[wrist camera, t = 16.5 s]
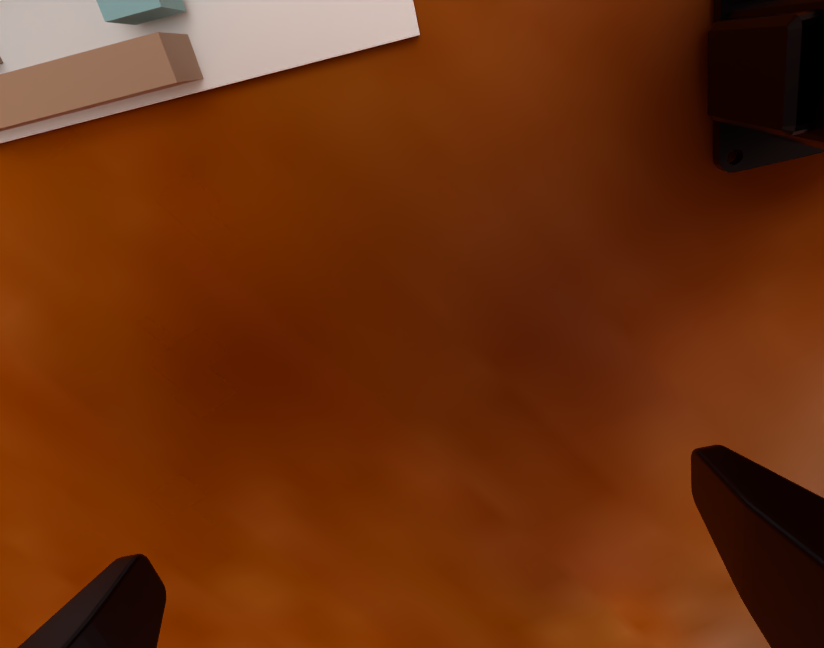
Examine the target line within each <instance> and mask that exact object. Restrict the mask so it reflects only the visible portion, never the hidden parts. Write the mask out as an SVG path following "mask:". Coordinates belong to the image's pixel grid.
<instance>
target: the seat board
mask: <svg viewBox="0 0 824 648" xmlns="http://www.w3.org/2000/svg"><path fill="white" fill-rule="evenodd" d="M183 3H184V6H185V9H186V12H182V13H178V14H175V15H171V16H167V17H164V18H160V19H156V20H153V21H149V22H145V23H141V24H138V25H130V24H121V23H111V22H105V20H104V18H103V16H102V13H101V11H100V8H99V6H98V3H97V1H96V0H0V144H1V143H4V142H8V141H12V140H16V139H20V138H24V137H28V136H31V135H35V134H39V133H43V132H47V131H51V130H55V129H59V128H62V127H66V126H70V125H74V124H78V123H82V122H86V121H90V120H93V119H97V118H101V117H105V116H109V115H113V114H117V113H121V112H124V111H128V110H132V109H136V108H140V107H144V106H148V105H152V104H155V103H159V102H163V101H167V100H171V99H175V98H179V97H183V96H186V95H190V94H194V93H198V92H202V91H206V90H210V89H214V88H217V87H221V86H225V85H229V84H233V83H237V82H241V81H245V80H248V79H252V78H256V77H260V76H264V75H268V74H272V73H276V72H279V71H283V70H287V69H291V68H295V67H299V66H303V65H307V64H310V63H314V62H318V61H322V60H326V59H330V58H334V57H338V56H341V55H345V54H349V53H353V52H357V51H361V50H365V49H369V48H372V47H376V46H380V45H384V44H388V43H392V42H396V41H400V40H403V39H407V38H411V37H415V36H419V35H420V33H419V28H418V23H417V18H416V13H415V8H414V3H413V0H183Z"/></svg>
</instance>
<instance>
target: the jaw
mask: <svg viewBox="0 0 824 648" xmlns="http://www.w3.org/2000/svg"><path fill="white" fill-rule="evenodd" d="M96 1H97V3H98V6H99V8H100V11H101V13H102V16H103V18H104V20H105V22H111V23H121V24H130V25H138V24H141V23H145V22H149V21H153V20H156V19H160V18H164V17H167V16H171V15H175V14H178V13H182V12H186V9H185V6H184V3H183V0H96Z"/></svg>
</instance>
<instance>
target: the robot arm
mask: <svg viewBox="0 0 824 648" xmlns="http://www.w3.org/2000/svg"><path fill="white" fill-rule="evenodd" d="M708 115H709V116H710V117H712V118H713V159H714V164H715V165H716V166H717V168H719V169H721V170H724V171H727V172H737V171H742V170H746V169H751V168H755V167H759V166H764V165H768V164H773V163H777V162H782V161H786V160H790V159H795V158H799V157H804V156H808V155H812V154H817V153H821V152H824V0H714V24H713V26H712V27H711V29H710V30H709V32H708ZM734 149H736V152H737V154H736V157H735V158H734V160H733V161H731V162H729V163H728V161H727V157H728V154H729V153H730V152H731V151H732V150H734ZM691 485H692V495H693V498H694V501H695V504H696V506H697V508H698V510H699V512H700V514H701V517H702V519H703V521H704V523H705V525H706V527H707V529H708V531H709V533H710V535H711V537H712V539H713V542H714V544H715V546H716V548H717V550H718V552H719V554H720V556H721V558H722V560H723V562H724V564H725V566H726V569H727V571H728V573H729V575H730V577H731V579H732V581H733V583H734V585H735V587H736V589H737V591H738V593H739V595H740V597H741V599H742V600H743V602H744V604H745V606H746V607H747V609H748V611H749V612H750V614H751V616H752V617H753V619H754V621H755V622H756V624H757V626H758V627H759V629H760V630H761V632H762V634H763V635H764V637H765V638H766V640H767V642H768V643H769V645H770V647H771V648H824V498H822V497H820V496H819V495H817V494H815V493H813V492H811V491H809V490H807V489H805V488H803V487H801V486H799V485H798V484H796V483H794V482H792V481H790V480H788V479H786V478H784V477H782V476H780V475H778V474H776V473H775V472H773V471H771V470H769V469H767V468H765V467H763V466H761V465H759V464H757V463H755V462H753V461H752V460H750V459H748V458H746V457H744V456H742V455H740V454H738V453H736V452H734V451H732V450H730V449H729V448H727V447H724V446H722V445H712V446H707V447H702V448H697V449H695V450H694V451H693V452H692V455H691ZM165 603H166V590H165V586H164V584H163V582H162V581H161V579H160V577H159V576H158V574H157V572H156V571H155V569H154V568H153V566H152V564H151V563H150V561H149V559H148V558H147V557H146V556H144V555H143V554H135V555H130V556H125V557H121V558H118V559H116V560H115V561H114V562H112V563H111V564H110V565H109V566H108V567H107V568H106V569H105V570H103V571H102V572H101V573H100V574H99V575H98V576H97V577H96V578H95V579H93V580H92V581H91V582H90V583H89V584H88V585H87V586H86V587H85V588H84V589H82V590H81V591H80V592H79V593H78V594H77V595H76V596H75V597H74V598H72V599H71V600H70V601H69V602H68V603H67V604H66V605H65V606H64V607H62V608H61V609H60V610H59V611H58V612H57V613H56V614H55V615H54V616H52V617H51V618H50V619H49V620H48V621H47V622H46V623H45V624H44V625H42V626H41V627H40V628H39V629H38V630H37V631H36V632H35V633H34V634H32V635H31V636H30V637H29V638H28V639H27V640H26V641H25V642H24V643H22V644H21V645H20V646H19V647H18V648H157V643H158V638H159V633H160V628H161V623H162V618H163V613H164V608H165Z"/></svg>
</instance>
